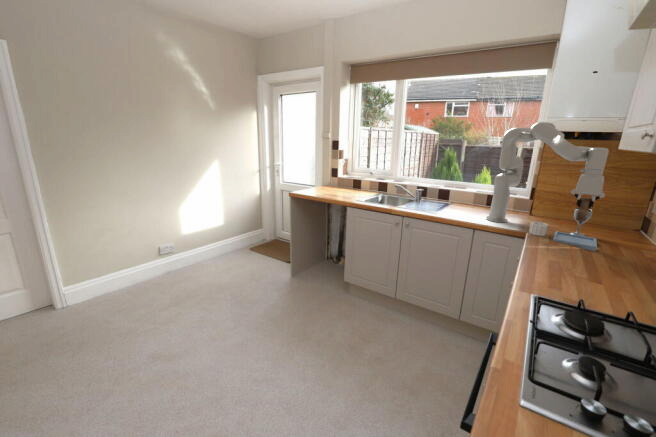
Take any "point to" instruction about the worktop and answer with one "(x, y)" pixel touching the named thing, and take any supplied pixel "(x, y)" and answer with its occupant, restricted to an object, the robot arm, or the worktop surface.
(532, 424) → the worktop surface
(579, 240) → the tray
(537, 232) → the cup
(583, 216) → the dowel
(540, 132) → the robot arm
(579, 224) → the wine glass
